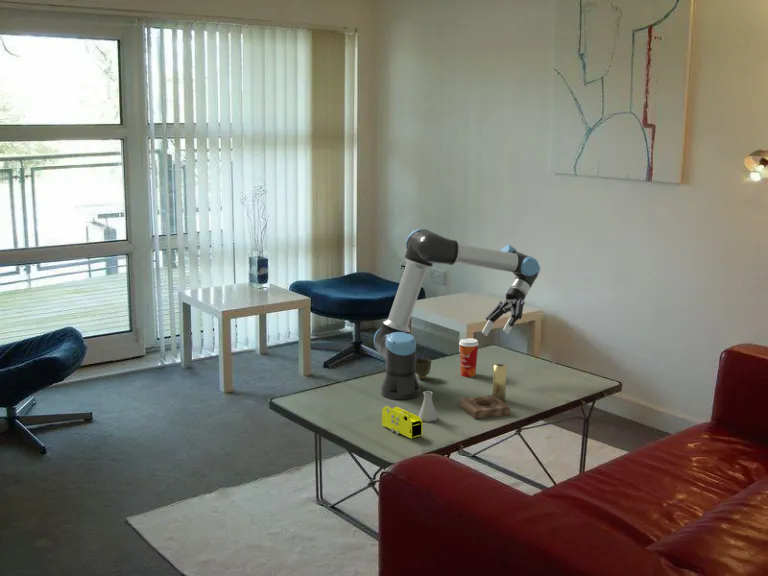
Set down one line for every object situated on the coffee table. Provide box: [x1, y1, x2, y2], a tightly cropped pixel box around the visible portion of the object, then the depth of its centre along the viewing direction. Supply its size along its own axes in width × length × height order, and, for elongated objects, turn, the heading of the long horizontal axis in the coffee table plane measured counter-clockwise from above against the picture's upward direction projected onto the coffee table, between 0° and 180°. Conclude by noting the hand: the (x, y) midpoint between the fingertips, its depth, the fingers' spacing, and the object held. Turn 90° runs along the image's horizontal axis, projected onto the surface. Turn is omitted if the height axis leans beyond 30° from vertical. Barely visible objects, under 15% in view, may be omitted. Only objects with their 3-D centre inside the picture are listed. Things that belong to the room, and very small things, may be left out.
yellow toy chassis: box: [381, 405, 424, 439], centre depth 293 cm, size 16×6×8 cm, turn 38°
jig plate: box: [458, 394, 511, 420], centre depth 314 cm, size 14×14×3 cm
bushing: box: [491, 362, 507, 403], centre depth 324 cm, size 5×5×14 cm
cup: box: [415, 357, 432, 380], centre depth 351 cm, size 8×7×8 cm
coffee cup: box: [458, 337, 480, 378], centre depth 355 cm, size 8×8×15 cm
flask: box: [417, 390, 439, 423], centre depth 305 cm, size 7×7×10 cm
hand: (494, 333), depth 340 cm, fingers open, 13 cm apart
